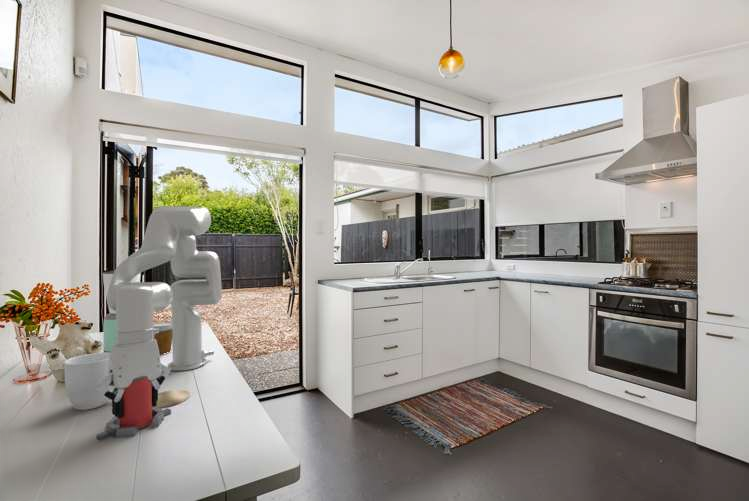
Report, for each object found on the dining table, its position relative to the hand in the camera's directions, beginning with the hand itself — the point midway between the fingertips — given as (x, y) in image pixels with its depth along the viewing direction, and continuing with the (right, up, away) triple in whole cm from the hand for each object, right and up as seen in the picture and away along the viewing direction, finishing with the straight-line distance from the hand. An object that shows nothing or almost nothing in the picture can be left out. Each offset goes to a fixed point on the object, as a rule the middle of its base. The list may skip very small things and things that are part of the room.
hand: (136, 410), depth 86 cm
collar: (0, -4, 0) cm, 4 cm away
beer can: (0, -4, 0) cm, 4 cm away
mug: (-19, -4, +12) cm, 23 cm away
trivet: (-1, -4, +15) cm, 15 cm away
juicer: (-49, -5, +65) cm, 81 cm away
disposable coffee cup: (-31, -4, +63) cm, 70 cm away
